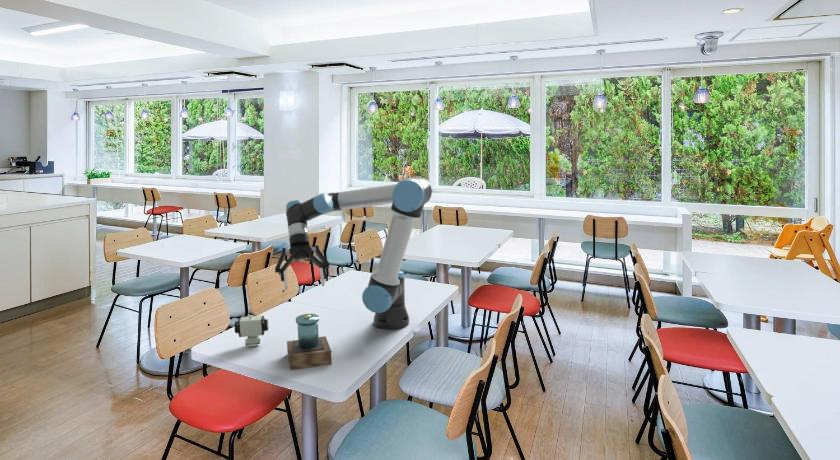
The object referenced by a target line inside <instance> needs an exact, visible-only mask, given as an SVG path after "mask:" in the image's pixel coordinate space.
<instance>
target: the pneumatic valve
mask: <svg viewBox="0 0 840 460" xmlns="http://www.w3.org/2000/svg"><path fill="white" fill-rule="evenodd" d="M233 328H234V333H235V334H237V335H238V337H239V338H244V337H245V340H244V343H245V346H246V347H247V348H257V347H258V346H259V345H260V344H261V337H260V336H264V335H265V332H267V331H269V319H266V318H265V315H252V314H251V315H250V314H249V316H240V317H239V319H238V321H235V322H234V326H233Z"/></svg>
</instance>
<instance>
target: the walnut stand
mask: <svg viewBox="0 0 840 460" xmlns="http://www.w3.org/2000/svg"><path fill="white" fill-rule="evenodd" d="M286 347H287V349H286V351H287V357H288V364H289V370H290V371H297V370H302V369H303V370H304V369H311V368H316V367H323V366H330V365H332V364H333V363H332V362H333V360H332V349H331V346H330V343H329V341H328V339H327V336H326V335H324V336H319V345H318V346H316V347H314V348H310V349H303V348H300V347H299V341H298V339H294V340H287V341H286Z"/></svg>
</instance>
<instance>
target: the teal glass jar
mask: <svg viewBox="0 0 840 460" xmlns="http://www.w3.org/2000/svg"><path fill="white" fill-rule="evenodd" d="M319 321H320V316H319V315H318V314H315V313H304V314H300V315H299V316H296V317H295V323H296V324H297V340H298V341H299V347H300V348H303V349H310V348H314V347H316V346H318V345H319V337H320V336H319Z"/></svg>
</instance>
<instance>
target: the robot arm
mask: <svg viewBox="0 0 840 460" xmlns="http://www.w3.org/2000/svg"><path fill="white" fill-rule="evenodd" d="M432 191H433V189H432V186H431V184H430V182H429V181H428V180H427V179H425V178H424V177H422V176H412V177H409V178H407V177H406V178H404V179H402V180H399V181H398V182H397V183H395V184H388V185H382V186H381V185H380V186H374V187H367V188H361V189H353V190H352V189H351V190H346V191H340V192H329V193H326V192H323V193H320V194H317V195H315V196H314V197H311V198H310V199H308V200H306V201H302V200H299V199H295V200H291V201H288V202H287V204H286V206H285V211H286V212H285V216H286V221H287V222H286V223H287V230H288V239H289V241H288V242H289V248H285V247H282V248H281V249H282V250H281V254H280V256H279V258H278V261H277V264H276V266H275V268H274V273H275V274H279V275H280V276H279V277H280V281H281V282H284V283H283V284H284V291H287V290H288V280H287V271H286V270H288V268H289V267H290V265H292V263H293V262H294V261H295V260H306V259H308V261H311V262H312V263H313V264H314V265H316V266H317V267H318V268H319V269H320V270H319V274H320V281H321V287H325V284H326V283H325V278H326V277H327V270H326V269H330V265H331V263H330V262H329V261H328V259H327V258H326V256H325V255H324V254H323V253H322V252H321V250H320V247H319V245H318V244H317V245H315V246H311V244H310V236H309V229H308V222H309V221H312V220H313V219H315V218H318V217H320V216H323V215H326V214H328V213H331V212H337V211H338V212H339V211H344V210H345V211H346V210H351V209H361V208H367V207H376V206H384V205H391V208H390V210H391V212H392V218H391V220H390V224H389V228H388V230H387V234H386V238H385V241H384V244H383V248H382V252H381V254H380V257H379V261H378V264H377V268H376V270H374V271H372V273H371V275H370V278H369V281H368V285H367V287H365V288H364V290H363V292H362V294H361V299H362V303H363V305H364V306H365V308H366V309H367V310H368V311H370V312H372V313H374V315H373V325H374V326H375V327H377V328H379V329H384V330H385V329H386V330H396V329H402V328H405V327H406V326H408V325H409V324H410V315H409V313H408V310H407V306H406V304H405V301H406V300H405V299H406V298H405V297H406V296H405V294H406V293H405V292H406V291H405V290H406V288H405V280H406V278H405V272H404V271H402V270H401V267H402V263H403V260H404V257H405V254H406V251H407V247H408V244H409V241H410V238H411V234H412V232H413V228H414V225H415V221H417V220H420V218H421V216H422V213H423V210H424V207H425V205H426V204H427V203H428V202H429V201H430V199H431V198H432V195H433V192H432ZM311 252H313V253H315V254H316V255H317V257H318V258H317V257H316V256H315V255H313V253H311ZM288 253H289V254H290V257H289V258H288V259H287V260H286V262H284V260H285V258H286V255H288ZM283 262H284V264H283ZM282 264H283V265H282Z"/></svg>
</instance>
